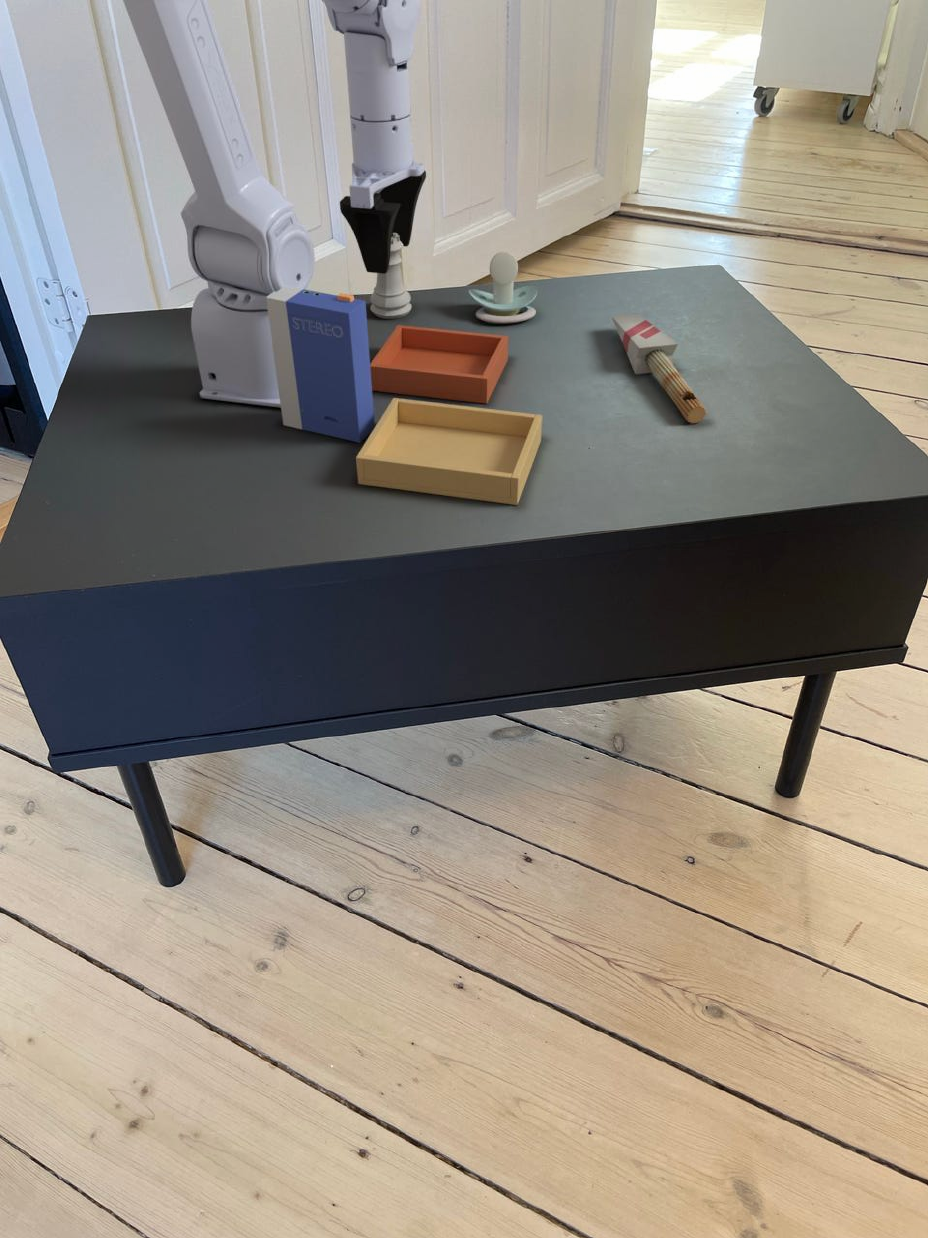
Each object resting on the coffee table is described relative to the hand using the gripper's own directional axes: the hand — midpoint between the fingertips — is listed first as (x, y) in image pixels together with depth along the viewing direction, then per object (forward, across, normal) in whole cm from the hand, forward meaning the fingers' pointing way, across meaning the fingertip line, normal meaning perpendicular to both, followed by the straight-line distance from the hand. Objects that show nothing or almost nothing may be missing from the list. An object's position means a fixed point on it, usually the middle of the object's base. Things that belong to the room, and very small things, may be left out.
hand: (388, 257), depth 101 cm
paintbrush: (+6, -8, -29) cm, 31 cm away
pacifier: (+6, +2, -12) cm, 14 cm away
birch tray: (+6, -28, -14) cm, 32 cm away
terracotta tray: (+6, -13, -9) cm, 17 cm away
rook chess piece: (+6, 0, 0) cm, 6 cm away
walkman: (+6, -25, -2) cm, 26 cm away
